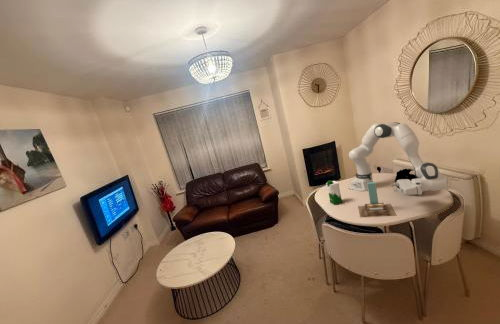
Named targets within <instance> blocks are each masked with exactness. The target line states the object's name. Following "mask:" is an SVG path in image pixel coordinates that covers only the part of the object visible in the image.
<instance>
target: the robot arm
mask: <svg viewBox="0 0 500 324" xmlns="http://www.w3.org/2000/svg"><path fill="white" fill-rule="evenodd" d="M392 137H394V138H395V140H397V142H398V144H399V145H400V147H401V148H402V149H403V151H404V152H405V154H406V156H407V158H408V159H409V162H410V163H411V165H412V166H413V170H414V175H415V176H416V178H417V179H412V180H411V181H410V180H409V179H401V180H397V182H396V183H395V182H393V183H390V187H392V188H393V187H397V186H399V187H400V189H398V188H394V189H393V191H394V192H395V193H396V192H397V193H403V194H404V195H405V196H406V195H407V196H409V195H410V196H411V195H422V194H423V192H426V191H427V192H428V191H439V190H444V189H446V188H447V187H448V184H449V180H448V178H447V176H446V175H443V174H442V173H441V171H440V170H439V169H438V166H437V165H436V164H435V163H432V162H424V161H423V160H422V158H421V156H420V154H419V145H420V141H419V138H418V136H417V135H416V133H415V132H414V130H413V129H412V128H411V127H410V126H409V125H408V124H407V123H400V122H396V121H395V122H386V123H378V122H376V123H373V124H372V125H371V126H370V127H369V128H368V129H367V131H366V132H365V134H364V136H363V137H362V138H361V144H360V145H359V146H358V147H355V148H353V149H351V150H350V151H349V152H348V158H349V160H351V161H352V162H353V163H354V164H355V168H356V174H354V176H355V177H354V178H353V179H352V180H351V181H350V184H349V186H348V190H354V191H359V192H365V191H368V185H367V183H370V182H374V181H373V173H372V170H371V169H372V168H371V164H370V162H368V161H367V160H366V158H367V157H369V156H370V155H371V154H373V152H374V147H375V146H376V144H377V142H378V141H379V140H380V139H386V138H392Z"/></svg>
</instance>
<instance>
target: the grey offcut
mask: <svg viewBox="0 0 500 324" xmlns="http://www.w3.org/2000/svg"><path fill="white" fill-rule="evenodd" d="M380 210H383V207H381V208H370V211H380Z"/></svg>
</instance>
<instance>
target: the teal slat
mask: <svg viewBox="0 0 500 324" xmlns="http://www.w3.org/2000/svg"><path fill="white" fill-rule="evenodd" d="M367 185H368V190H367V191H368V198H369V204H379V203H380V202H379V198H378V191H377V184H376V182H375V181H373V182H370V183H367Z"/></svg>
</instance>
